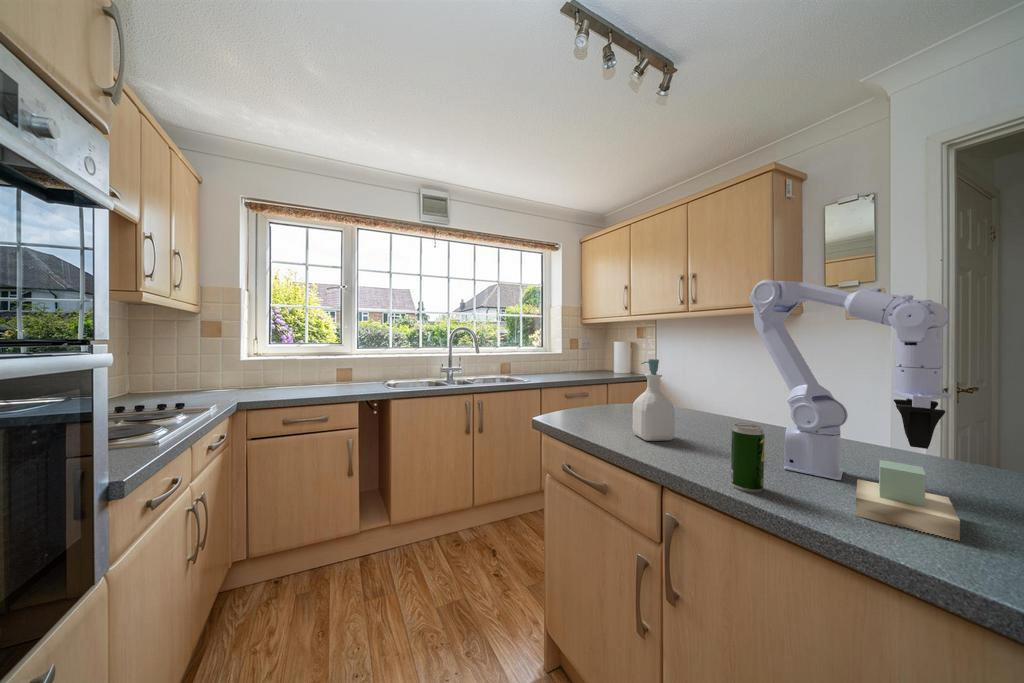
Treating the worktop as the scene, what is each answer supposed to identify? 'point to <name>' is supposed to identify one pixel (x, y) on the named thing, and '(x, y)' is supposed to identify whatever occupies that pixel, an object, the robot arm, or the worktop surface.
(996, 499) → the worktop surface
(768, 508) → the worktop surface
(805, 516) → the worktop surface
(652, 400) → the soap bottle
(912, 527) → the birch plinth
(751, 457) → the green soda can
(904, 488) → the sage cube
